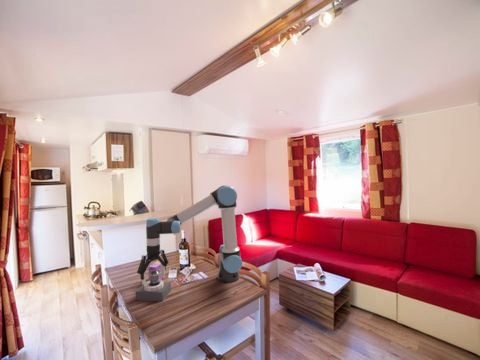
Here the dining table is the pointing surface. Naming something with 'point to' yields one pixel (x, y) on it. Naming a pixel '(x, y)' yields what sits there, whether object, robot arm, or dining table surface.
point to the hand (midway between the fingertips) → (153, 280)
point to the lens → (154, 277)
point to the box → (156, 266)
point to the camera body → (153, 291)
